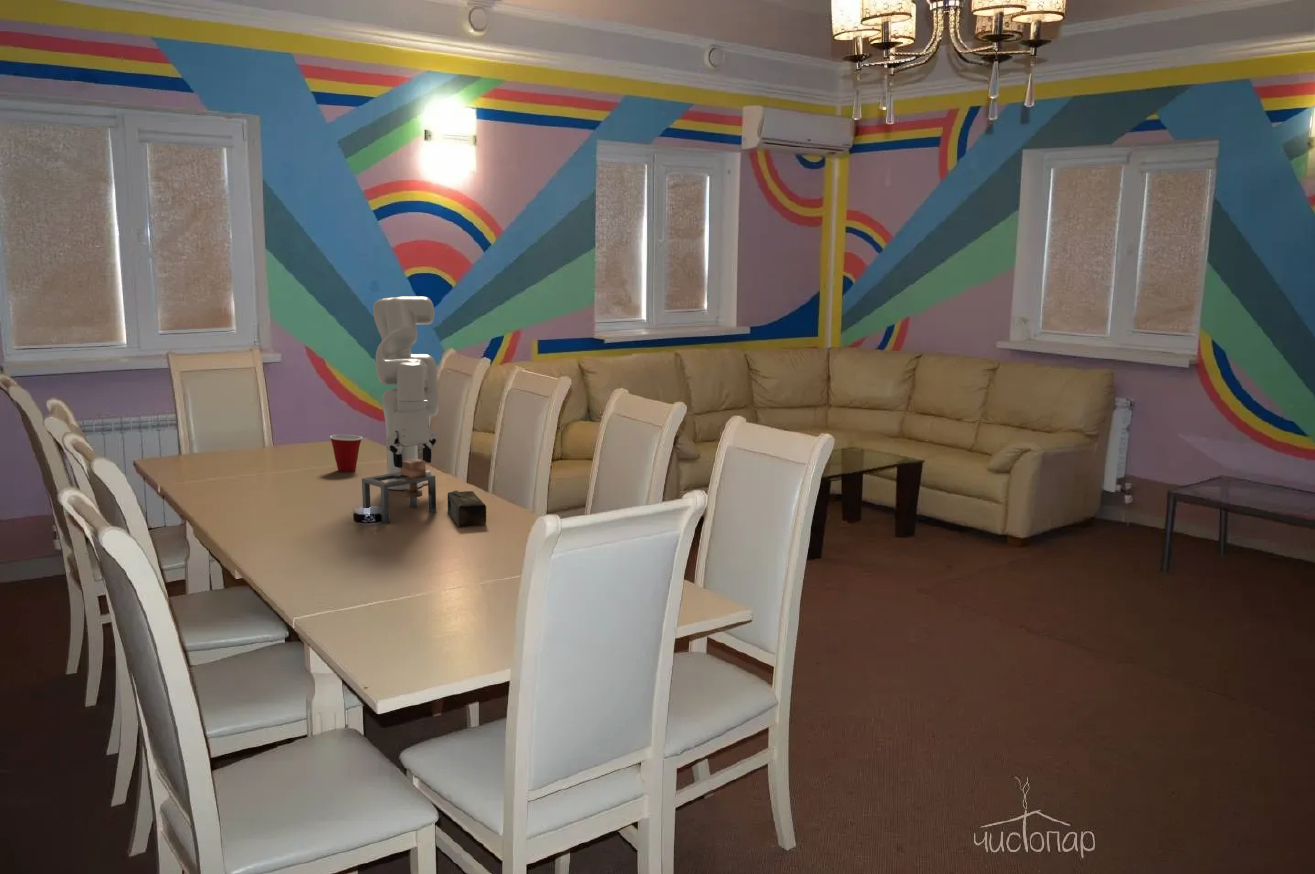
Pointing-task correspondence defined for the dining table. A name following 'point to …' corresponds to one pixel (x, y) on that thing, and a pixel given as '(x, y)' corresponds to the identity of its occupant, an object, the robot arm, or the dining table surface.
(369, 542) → the dining table surface
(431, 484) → the keyhole rack
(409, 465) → the t peg
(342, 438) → the plastic cup
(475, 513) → the beverage carton
